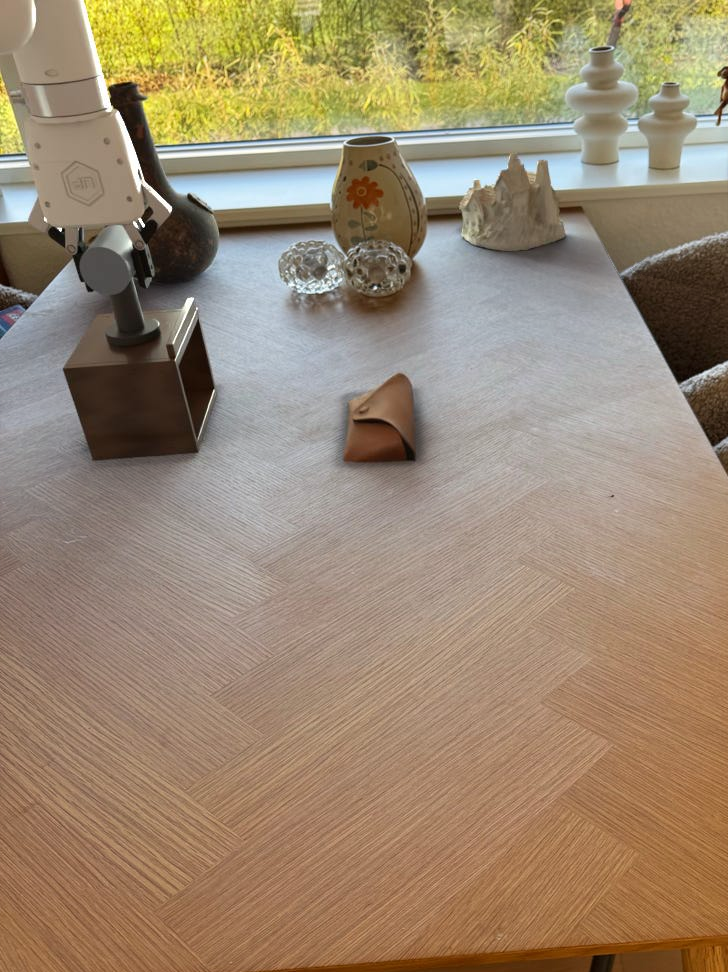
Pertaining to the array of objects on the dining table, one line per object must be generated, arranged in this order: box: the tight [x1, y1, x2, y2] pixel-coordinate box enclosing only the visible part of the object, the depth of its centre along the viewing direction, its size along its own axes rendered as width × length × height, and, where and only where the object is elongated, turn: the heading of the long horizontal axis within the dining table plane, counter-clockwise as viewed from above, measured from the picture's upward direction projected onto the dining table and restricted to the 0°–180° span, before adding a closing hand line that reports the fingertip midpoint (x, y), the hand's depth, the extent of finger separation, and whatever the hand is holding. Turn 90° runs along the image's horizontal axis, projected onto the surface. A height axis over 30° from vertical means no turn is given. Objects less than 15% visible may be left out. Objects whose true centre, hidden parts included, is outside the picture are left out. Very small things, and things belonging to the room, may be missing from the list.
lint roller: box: [80, 225, 161, 346], centre depth 105 cm, size 6×8×11 cm
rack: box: [62, 297, 218, 461], centre depth 112 cm, size 12×16×12 cm
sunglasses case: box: [341, 372, 417, 464], centre depth 110 cm, size 18×7×7 cm
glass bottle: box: [103, 81, 220, 285], centre depth 150 cm, size 18×18×28 cm
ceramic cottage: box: [458, 151, 566, 252], centre depth 163 cm, size 16×16×15 cm
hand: (119, 284), depth 105 cm, fingers closed on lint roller, 5 cm apart
